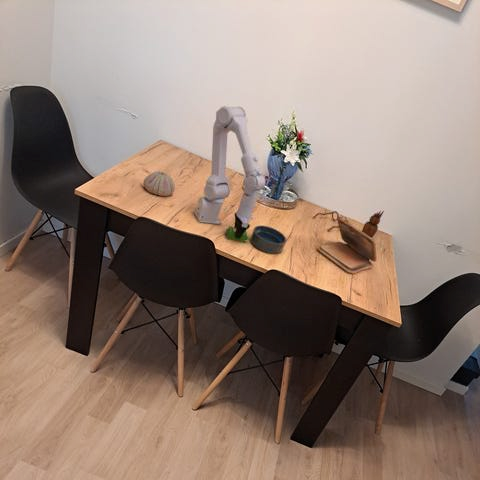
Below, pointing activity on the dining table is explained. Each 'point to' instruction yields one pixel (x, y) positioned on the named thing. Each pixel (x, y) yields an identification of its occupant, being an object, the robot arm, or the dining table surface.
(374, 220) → the wooden figurine
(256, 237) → the bowl
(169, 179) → the sea urchin shell
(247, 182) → the robot arm
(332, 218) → the glasses
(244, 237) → the green box
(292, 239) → the dining table surface
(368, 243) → the case
